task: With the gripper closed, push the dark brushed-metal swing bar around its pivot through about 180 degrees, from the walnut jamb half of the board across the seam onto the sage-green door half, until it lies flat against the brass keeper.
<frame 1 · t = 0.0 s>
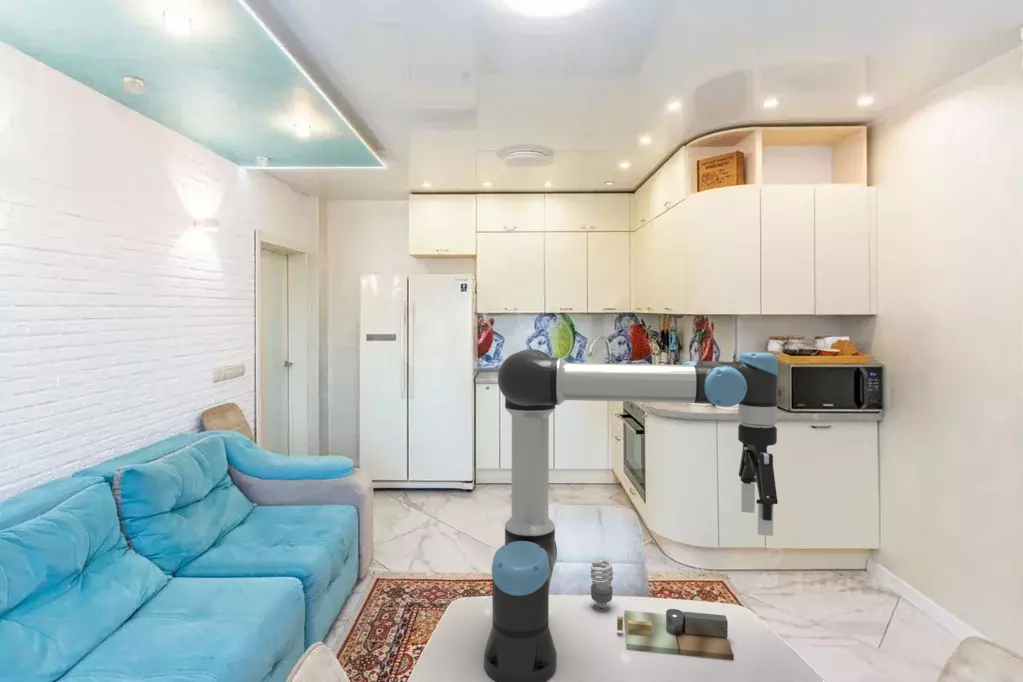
hand: (755, 522, 116), 28 cm above the table, fingers open, 13 cm apart
light bulb: (601, 608, 134), on the table
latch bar: (675, 636, 122), resting on door board, hinge at 0.0°
door board: (675, 636, 122), on the table
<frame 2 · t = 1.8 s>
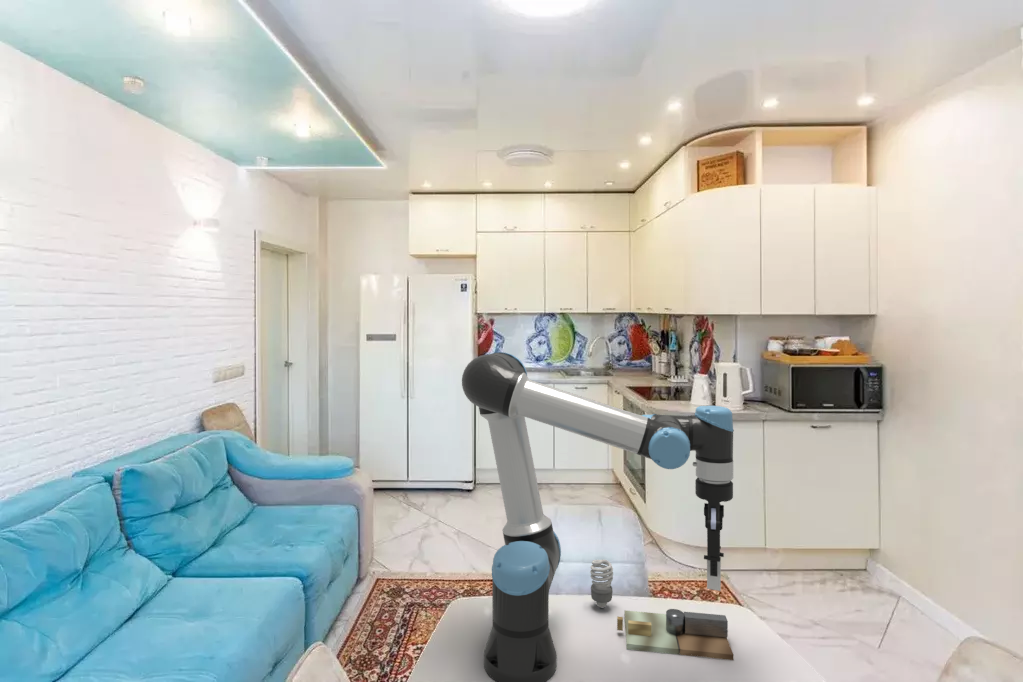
hand: (713, 588, 115), 14 cm above the table, fingers closed
nothing on the table moved.
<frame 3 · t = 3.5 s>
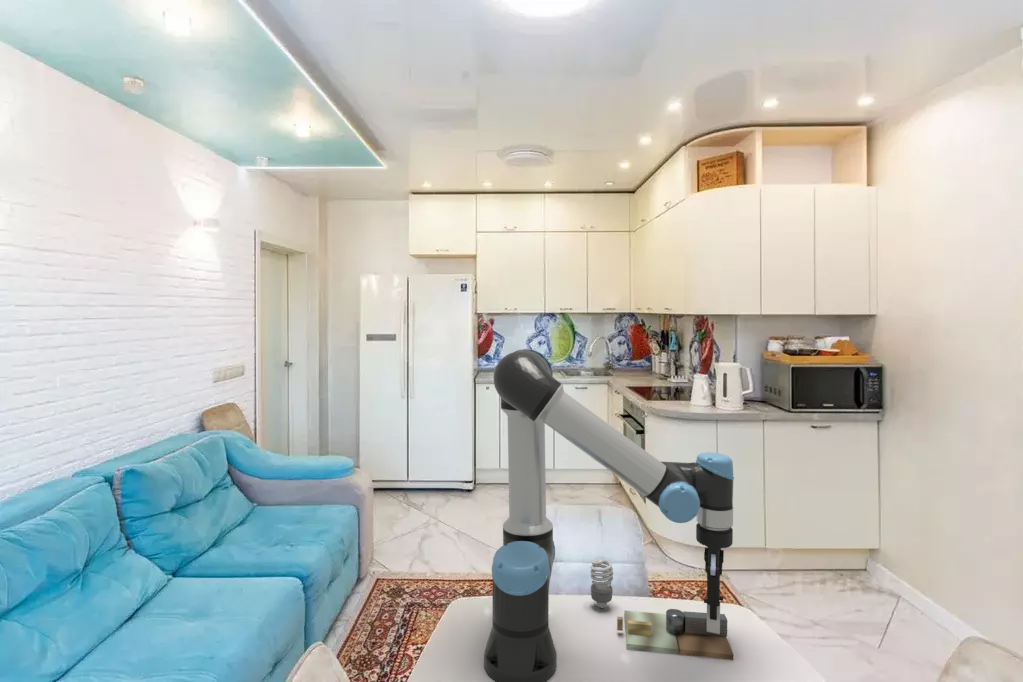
hand: (713, 631, 119), 3 cm above the table, fingers closed
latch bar: (675, 636, 122), resting on door board, hinge at 2.7°, touching gripper
everything else where it was.
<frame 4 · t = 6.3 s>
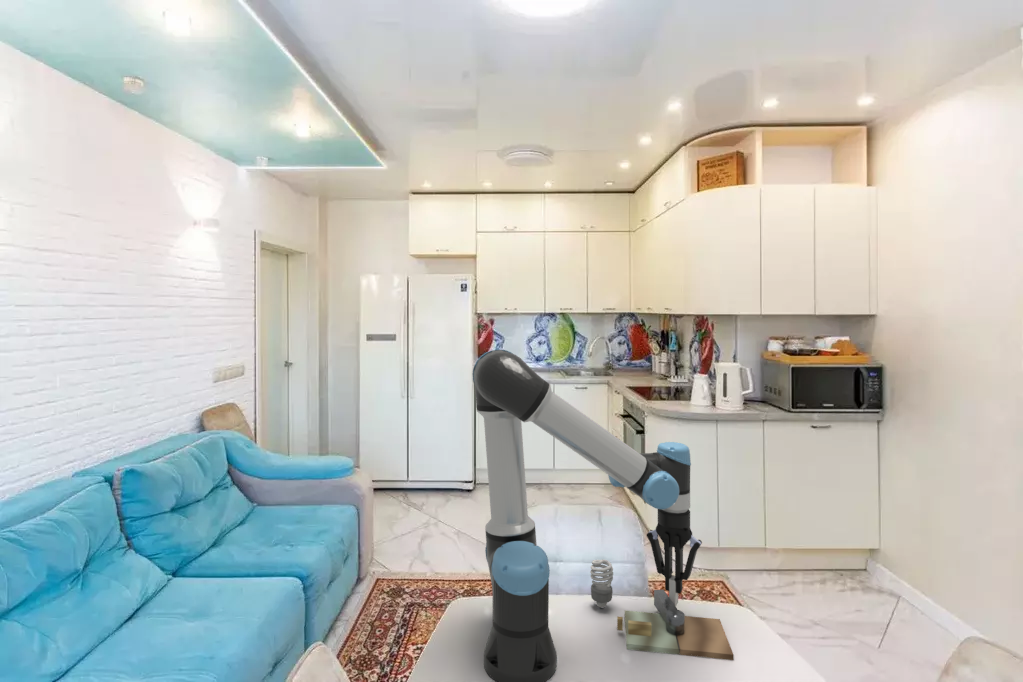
hand: (673, 604, 130), 3 cm above the table, fingers closed
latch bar: (675, 636, 122), resting on door board, hinge at 103.8°, touching gripper
everything else where it was.
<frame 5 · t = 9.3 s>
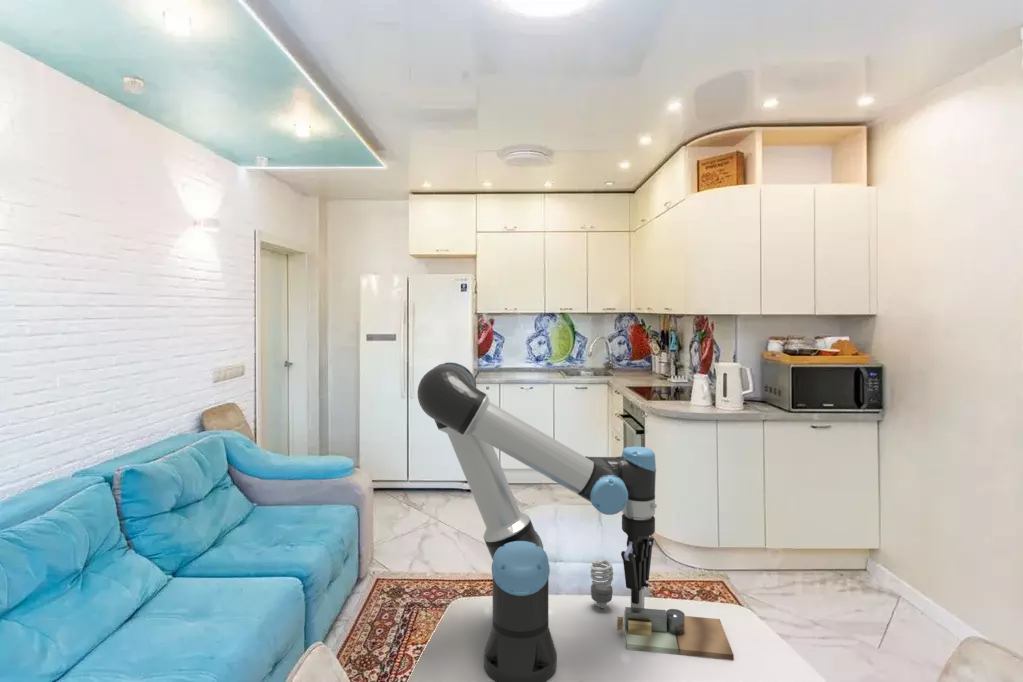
hand: (637, 614, 126), 3 cm above the table, fingers closed
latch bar: (675, 636, 122), resting on door board, hinge at 181.4°, touching gripper
everything else where it was.
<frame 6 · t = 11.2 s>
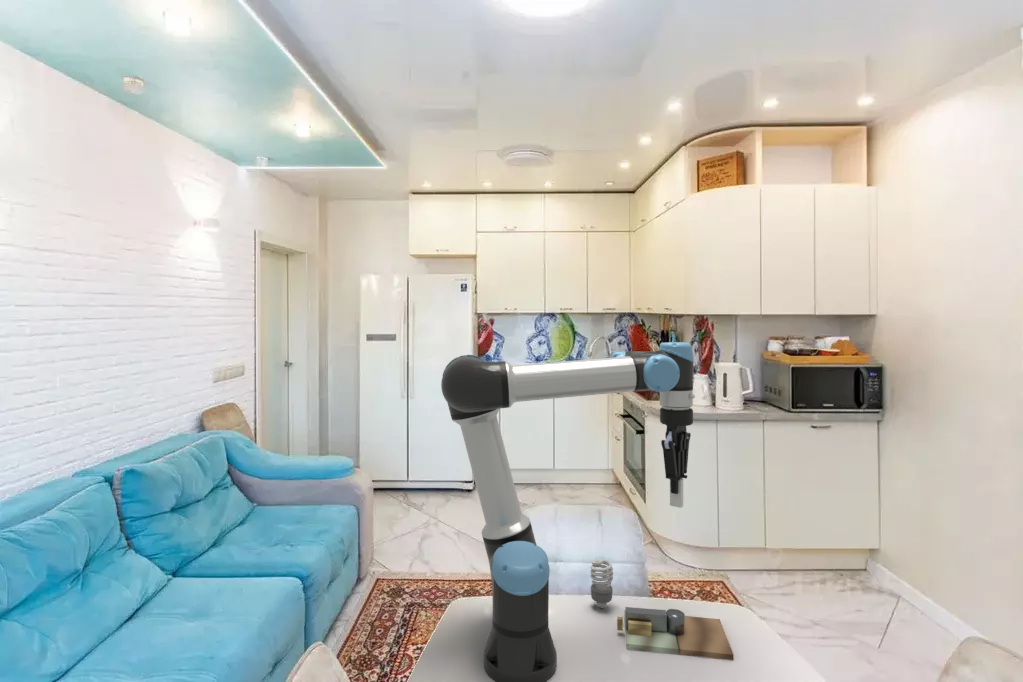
hand: (676, 505, 128), 27 cm above the table, fingers closed
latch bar: (675, 636, 122), resting on door board, hinge at 181.4°
everything else where it was.
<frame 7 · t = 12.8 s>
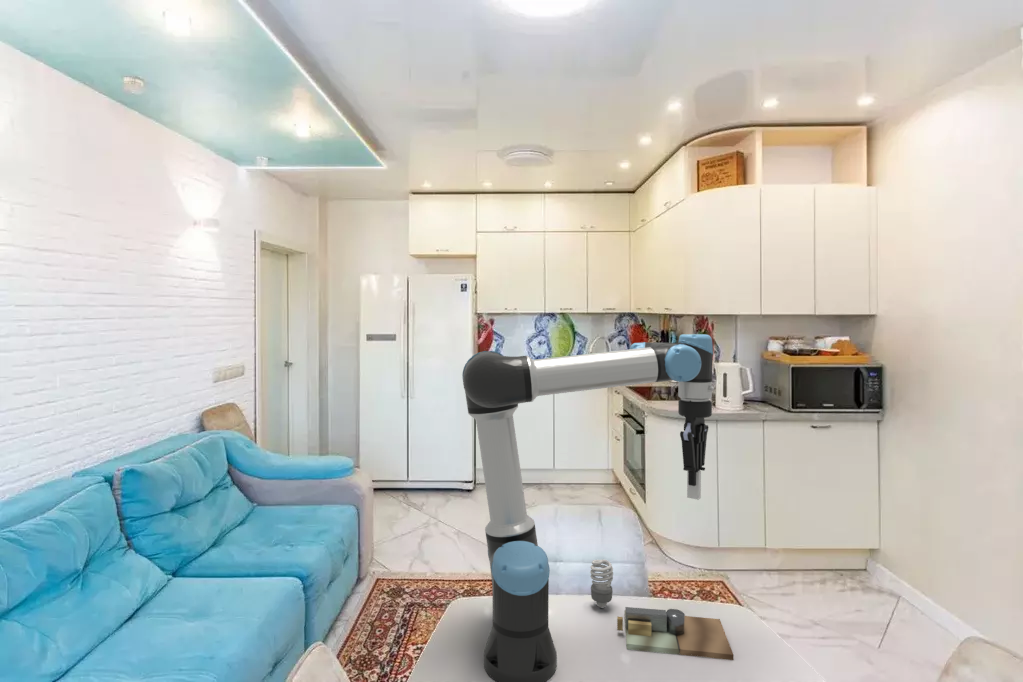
hand: (693, 497, 128), 29 cm above the table, fingers closed
nothing on the table moved.
at the end: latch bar at +181° (first picture: +0°); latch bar touching nothing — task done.
